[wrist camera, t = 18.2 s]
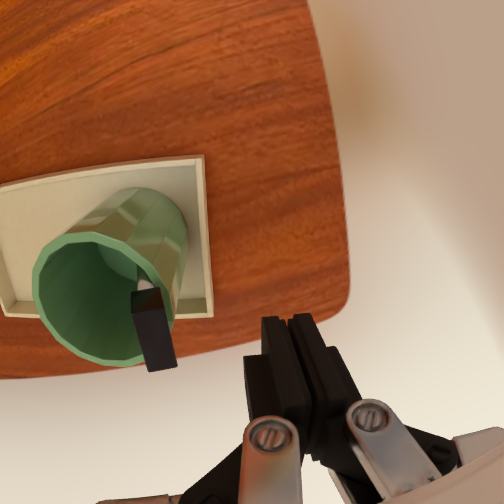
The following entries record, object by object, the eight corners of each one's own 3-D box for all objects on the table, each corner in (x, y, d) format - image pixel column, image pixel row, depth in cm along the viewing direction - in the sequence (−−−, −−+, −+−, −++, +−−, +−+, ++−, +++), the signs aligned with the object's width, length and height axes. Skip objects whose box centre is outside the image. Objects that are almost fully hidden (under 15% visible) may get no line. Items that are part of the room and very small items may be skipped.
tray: (204, 153, 19) (201, 158, 17) (213, 296, 24) (213, 317, 21) (-10, 186, 18) (-30, 195, 15) (19, 300, 22) (5, 316, 20)
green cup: (185, 182, 19) (160, 225, 11) (194, 280, 22) (183, 367, 14) (86, 192, 19) (14, 238, 10) (104, 283, 22) (59, 362, 13)
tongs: (148, 218, 20) (165, 307, 10) (153, 257, 21) (178, 367, 11) (130, 221, 19) (130, 313, 9) (137, 260, 20) (148, 373, 11)
